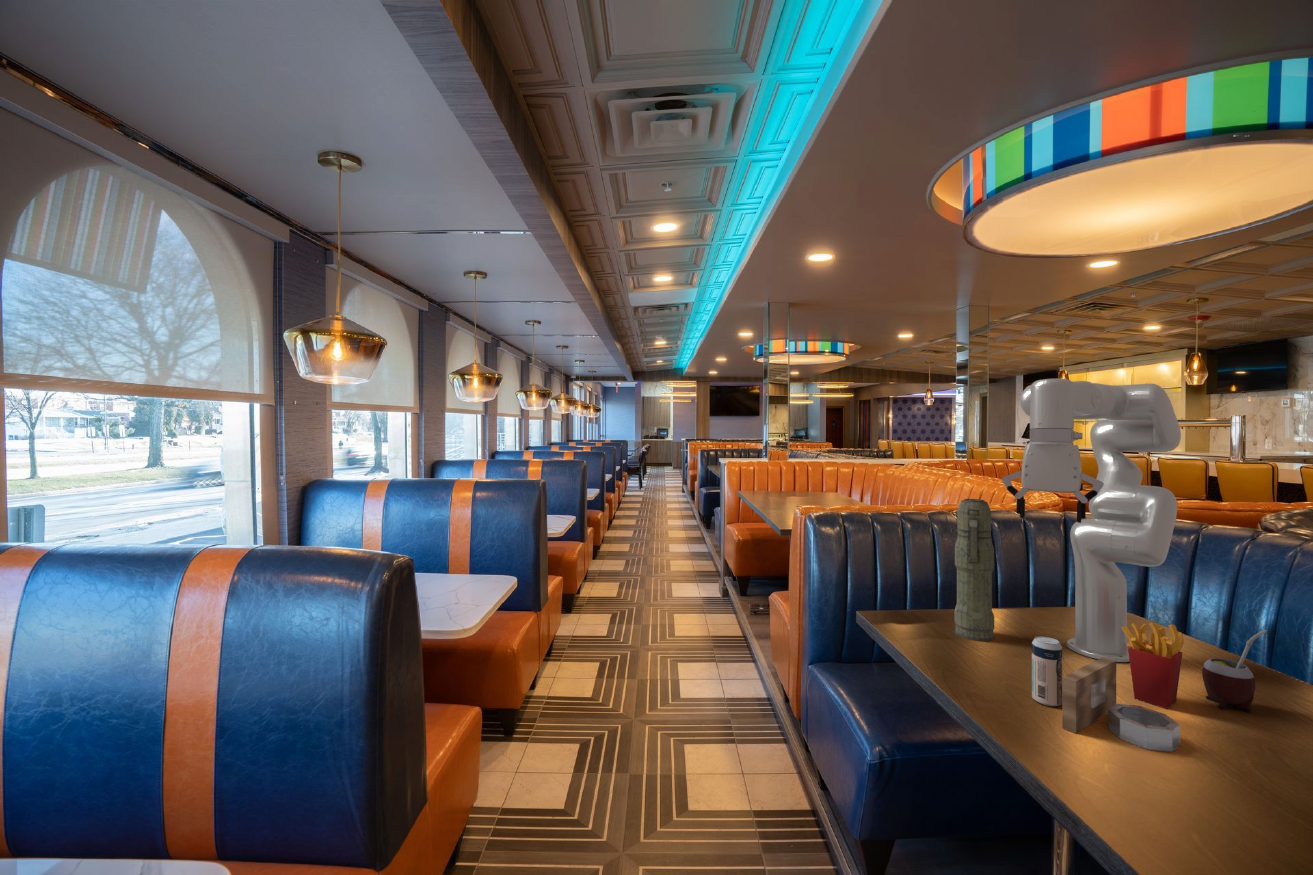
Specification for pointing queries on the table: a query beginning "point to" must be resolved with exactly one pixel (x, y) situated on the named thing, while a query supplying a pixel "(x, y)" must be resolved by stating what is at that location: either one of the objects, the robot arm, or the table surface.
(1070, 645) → the robot arm
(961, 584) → the thermos
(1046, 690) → the beer can
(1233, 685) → the mate gourd
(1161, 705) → the french fries
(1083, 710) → the brown flat block
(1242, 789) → the table surface
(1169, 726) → the grey octagonal ring
